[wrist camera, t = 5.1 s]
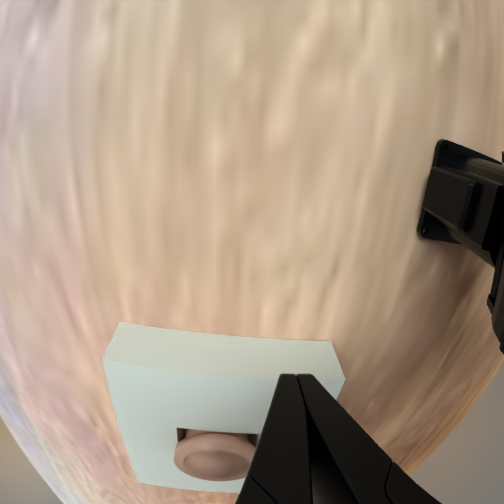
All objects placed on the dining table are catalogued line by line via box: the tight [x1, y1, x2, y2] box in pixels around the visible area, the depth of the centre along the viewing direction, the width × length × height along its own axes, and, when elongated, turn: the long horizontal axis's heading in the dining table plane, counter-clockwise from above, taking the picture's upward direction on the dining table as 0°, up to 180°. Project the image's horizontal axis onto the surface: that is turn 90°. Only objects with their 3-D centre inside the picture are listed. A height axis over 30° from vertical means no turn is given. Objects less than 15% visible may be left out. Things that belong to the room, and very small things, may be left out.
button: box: [174, 429, 256, 481], centre depth 22 cm, size 6×6×4 cm
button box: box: [102, 322, 345, 493], centre depth 23 cm, size 15×18×4 cm
